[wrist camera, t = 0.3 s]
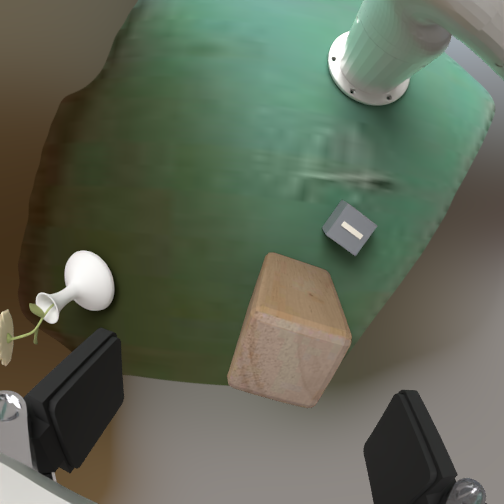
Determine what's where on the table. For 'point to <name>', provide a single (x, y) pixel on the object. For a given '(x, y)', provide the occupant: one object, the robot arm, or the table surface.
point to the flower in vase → (65, 296)
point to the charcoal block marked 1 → (348, 227)
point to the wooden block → (290, 334)
